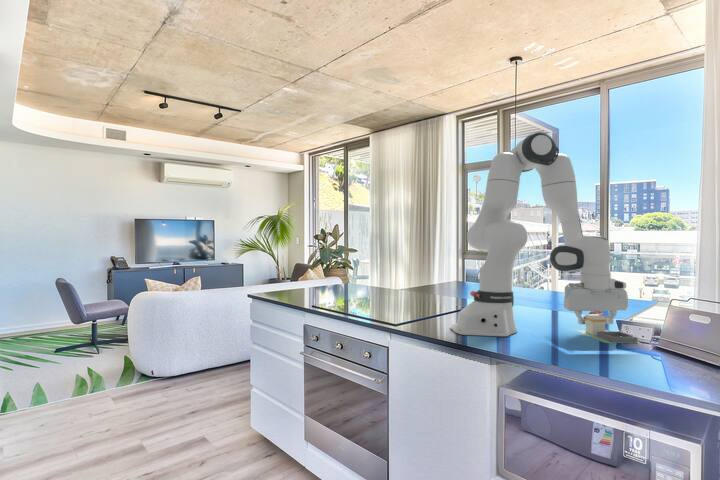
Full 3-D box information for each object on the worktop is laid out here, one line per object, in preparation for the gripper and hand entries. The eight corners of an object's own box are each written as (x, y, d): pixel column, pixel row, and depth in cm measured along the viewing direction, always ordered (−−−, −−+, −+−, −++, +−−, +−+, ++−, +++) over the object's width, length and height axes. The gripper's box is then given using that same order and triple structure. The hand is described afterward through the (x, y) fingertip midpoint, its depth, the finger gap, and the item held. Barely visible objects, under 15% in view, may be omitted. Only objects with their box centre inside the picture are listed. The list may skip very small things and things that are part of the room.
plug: (592, 334, 134) (592, 316, 134) (585, 331, 138) (585, 314, 138) (605, 334, 134) (605, 316, 134) (597, 331, 138) (597, 314, 138)
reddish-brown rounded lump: (601, 332, 149) (610, 315, 148) (588, 326, 149) (598, 309, 149) (591, 326, 158) (600, 311, 158) (579, 321, 159) (588, 305, 158)
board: (604, 346, 124) (604, 337, 124) (574, 333, 141) (574, 325, 141) (640, 345, 124) (640, 337, 124) (606, 333, 141) (606, 325, 141)
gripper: (569, 284, 133) (570, 326, 133) (631, 283, 134) (631, 325, 134) (559, 282, 140) (560, 322, 140) (618, 281, 140) (618, 321, 140)
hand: (595, 323), depth 137 cm, fingers open, 8 cm apart
